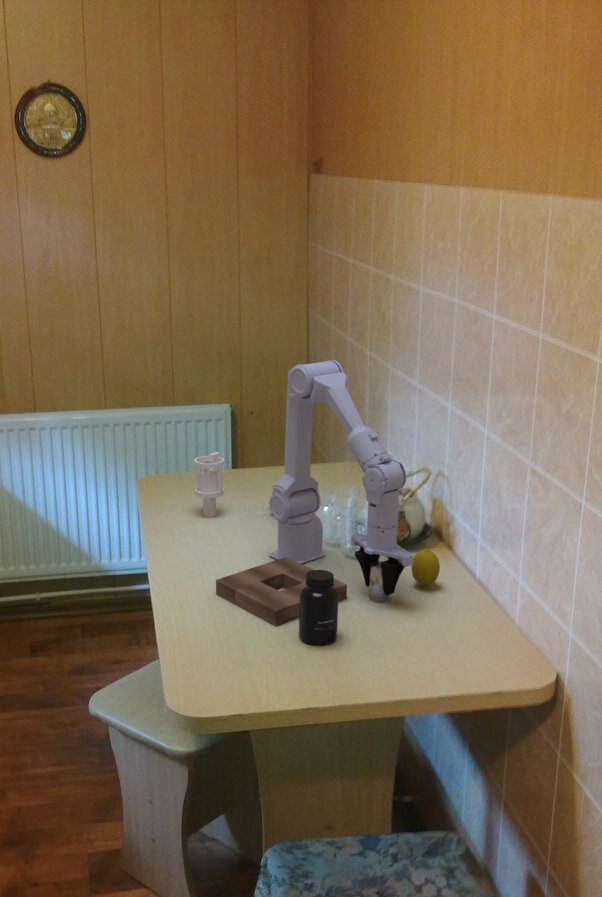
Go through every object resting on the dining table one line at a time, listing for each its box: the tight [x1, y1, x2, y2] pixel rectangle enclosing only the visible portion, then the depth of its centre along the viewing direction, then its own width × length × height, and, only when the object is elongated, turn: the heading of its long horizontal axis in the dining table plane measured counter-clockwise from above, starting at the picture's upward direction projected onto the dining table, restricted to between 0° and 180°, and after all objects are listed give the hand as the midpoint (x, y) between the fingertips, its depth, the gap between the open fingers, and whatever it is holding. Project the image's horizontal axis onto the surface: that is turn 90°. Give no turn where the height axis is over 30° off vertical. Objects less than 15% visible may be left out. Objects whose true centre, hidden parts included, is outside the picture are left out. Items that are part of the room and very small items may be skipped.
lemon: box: [411, 548, 440, 587], centre depth 185 cm, size 6×6×8 cm
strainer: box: [193, 451, 225, 518], centre depth 223 cm, size 7×7×15 cm
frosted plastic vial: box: [368, 560, 391, 604], centre depth 180 cm, size 4×4×7 cm
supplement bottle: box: [298, 569, 340, 646], centre depth 163 cm, size 7×7×12 cm
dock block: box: [215, 557, 348, 627], centre depth 180 cm, size 18×18×3 cm
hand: (379, 589), depth 180 cm, fingers open, 4 cm apart
